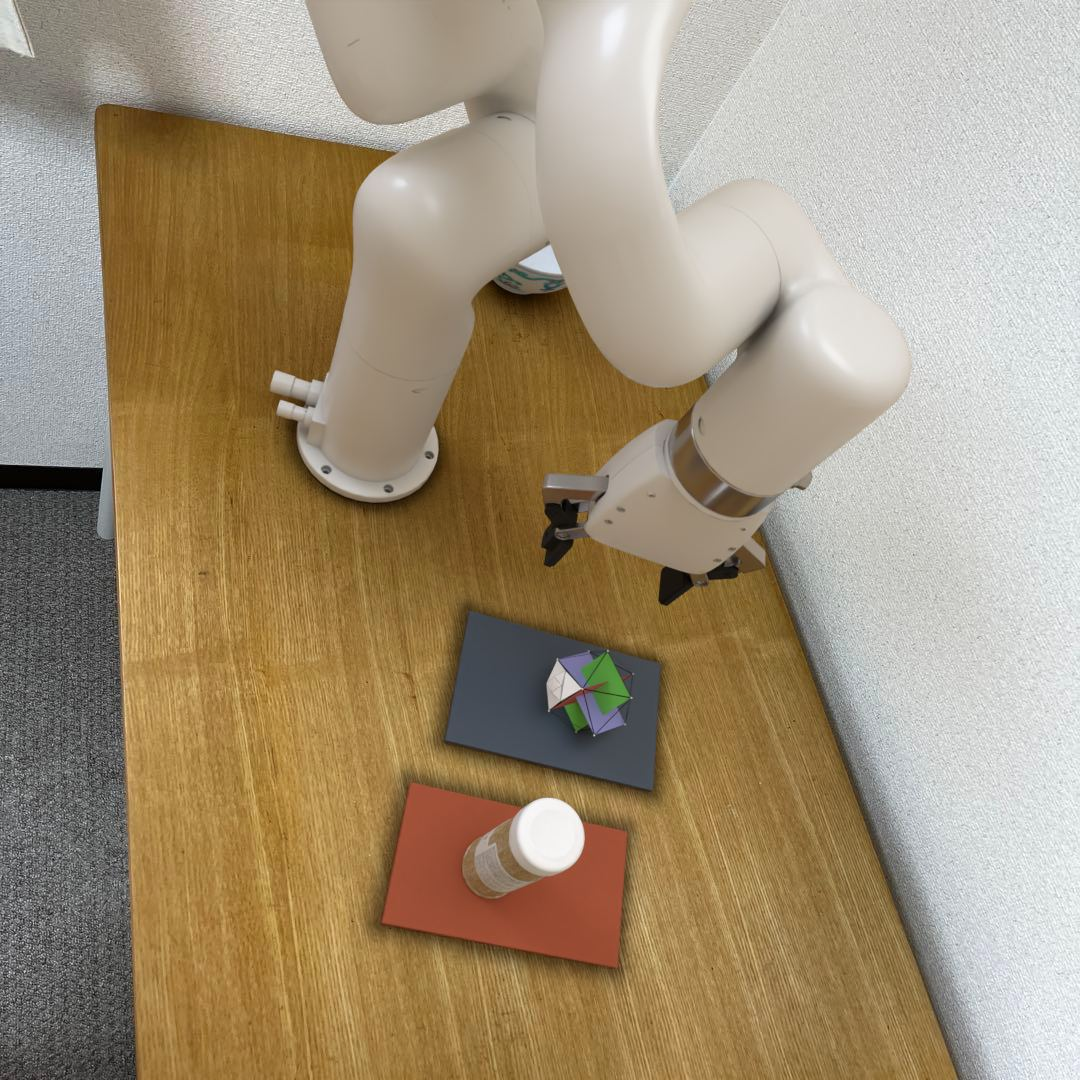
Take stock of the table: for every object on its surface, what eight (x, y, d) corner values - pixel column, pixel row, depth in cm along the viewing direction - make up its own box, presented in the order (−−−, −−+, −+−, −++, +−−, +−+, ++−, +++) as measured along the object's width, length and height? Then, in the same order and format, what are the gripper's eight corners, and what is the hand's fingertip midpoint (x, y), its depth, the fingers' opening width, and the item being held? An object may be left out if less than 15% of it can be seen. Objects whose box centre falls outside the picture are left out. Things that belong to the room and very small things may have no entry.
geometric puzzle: (618, 639, 77) (603, 627, 70) (655, 712, 75) (644, 707, 68) (546, 677, 78) (523, 670, 71) (580, 750, 76) (560, 750, 68)
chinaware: (422, 235, 96) (440, 177, 90) (529, 208, 104) (552, 154, 97) (499, 340, 93) (523, 289, 86) (603, 305, 101) (632, 255, 94)
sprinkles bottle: (503, 826, 69) (568, 785, 58) (527, 885, 67) (599, 853, 56) (449, 850, 66) (506, 812, 55) (474, 911, 65) (537, 884, 54)
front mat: (380, 924, 63) (382, 923, 62) (409, 783, 68) (411, 781, 68) (614, 968, 67) (617, 967, 67) (624, 833, 72) (627, 831, 72)
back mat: (443, 742, 71) (445, 740, 70) (468, 613, 77) (470, 610, 76) (650, 792, 75) (653, 790, 74) (657, 666, 81) (660, 663, 80)
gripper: (845, 454, 59) (708, 561, 73) (609, 359, 54) (511, 492, 69) (848, 552, 55) (702, 645, 69) (594, 458, 51) (494, 578, 65)
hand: (607, 569), depth 69 cm, fingers open, 9 cm apart
